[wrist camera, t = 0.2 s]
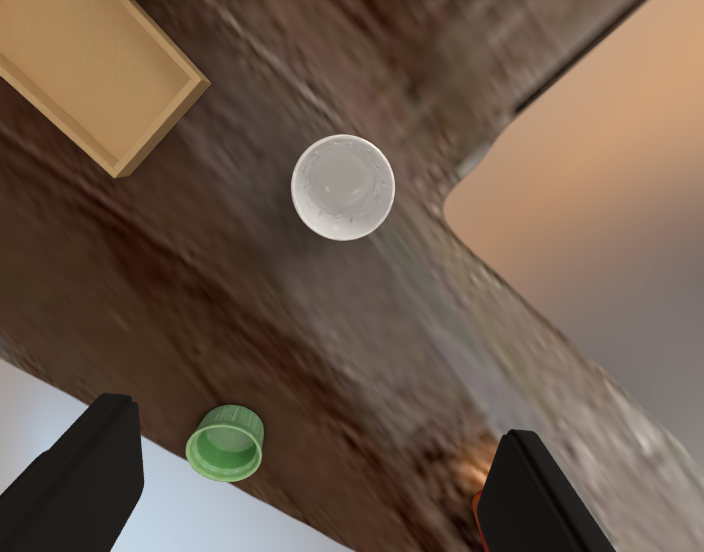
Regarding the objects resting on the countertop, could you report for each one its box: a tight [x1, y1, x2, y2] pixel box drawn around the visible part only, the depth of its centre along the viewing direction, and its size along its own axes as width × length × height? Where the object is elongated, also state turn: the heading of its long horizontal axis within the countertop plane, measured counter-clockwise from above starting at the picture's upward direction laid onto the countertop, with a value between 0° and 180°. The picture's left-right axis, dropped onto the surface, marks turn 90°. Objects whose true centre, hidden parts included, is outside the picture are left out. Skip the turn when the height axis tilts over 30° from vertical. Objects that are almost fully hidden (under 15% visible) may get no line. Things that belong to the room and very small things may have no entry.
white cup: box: [291, 135, 395, 240], centre depth 32 cm, size 8×8×10 cm
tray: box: [0, 0, 212, 178], centre depth 31 cm, size 12×16×3 cm
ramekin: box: [186, 405, 264, 482], centre depth 46 cm, size 9×9×4 cm
